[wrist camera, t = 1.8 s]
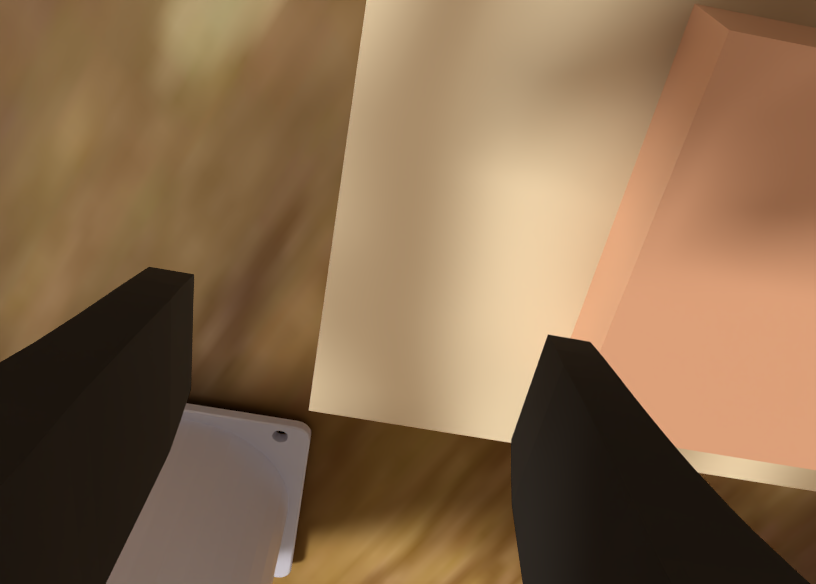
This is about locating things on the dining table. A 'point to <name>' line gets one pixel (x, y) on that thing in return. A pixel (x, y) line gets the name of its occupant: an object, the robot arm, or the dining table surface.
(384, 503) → the dining table surface
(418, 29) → the deck
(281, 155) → the dining table surface
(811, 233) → the tile
